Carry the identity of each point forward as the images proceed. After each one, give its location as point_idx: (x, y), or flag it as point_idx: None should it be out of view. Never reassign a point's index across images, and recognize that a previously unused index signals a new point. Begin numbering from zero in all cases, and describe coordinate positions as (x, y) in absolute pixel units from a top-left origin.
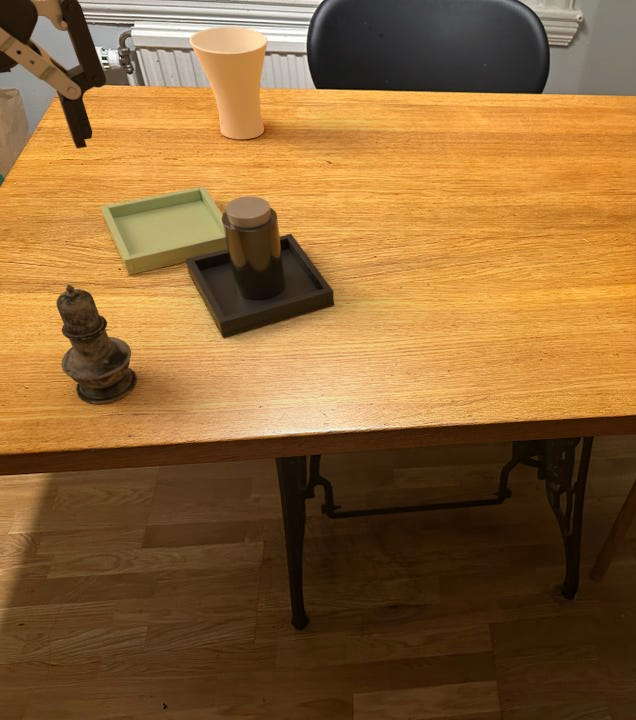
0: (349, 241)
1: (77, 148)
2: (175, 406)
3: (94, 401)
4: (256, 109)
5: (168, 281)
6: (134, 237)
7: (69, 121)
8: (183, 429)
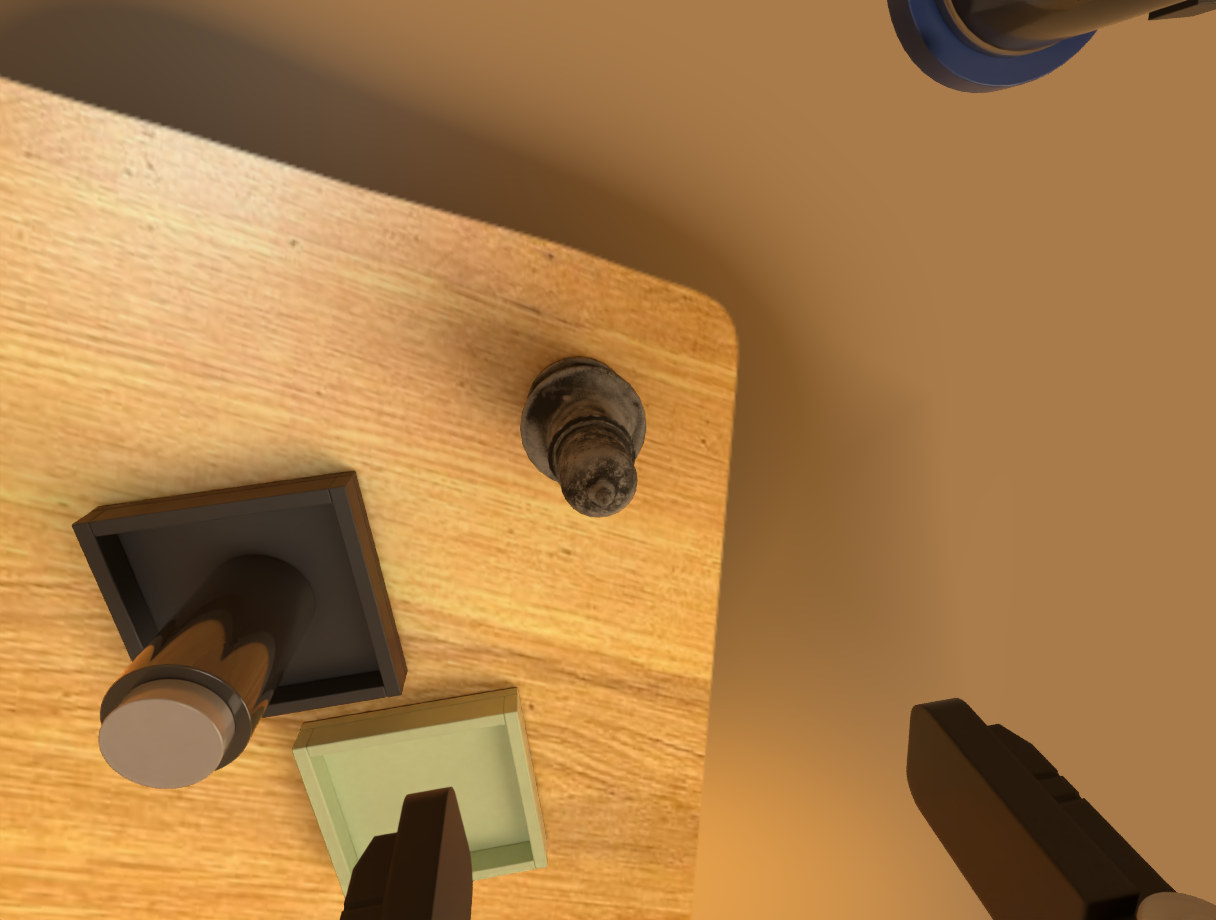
0: (43, 705)
1: (449, 788)
2: (463, 306)
3: (602, 366)
4: None
5: (448, 656)
6: (497, 783)
7: (425, 913)
8: (453, 236)
